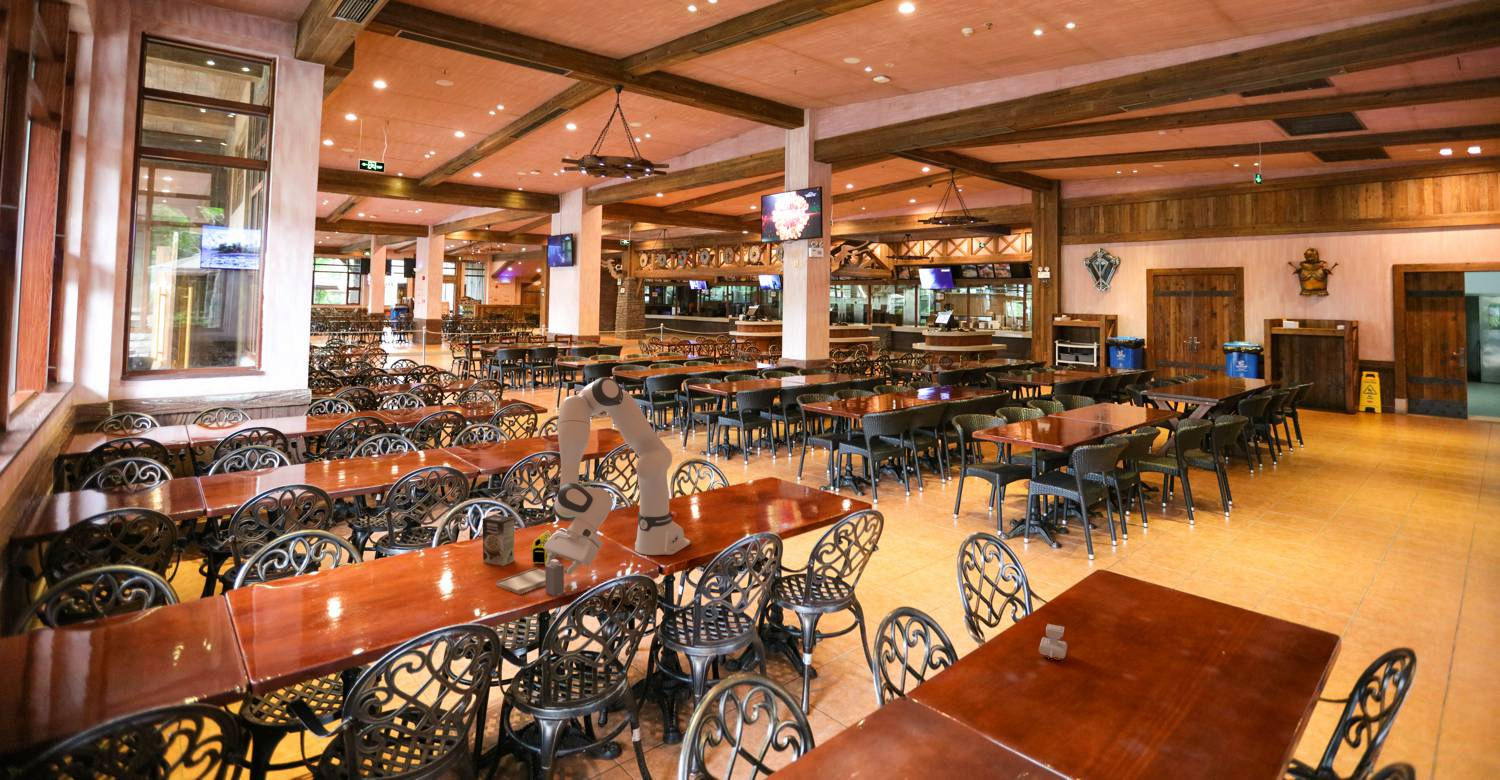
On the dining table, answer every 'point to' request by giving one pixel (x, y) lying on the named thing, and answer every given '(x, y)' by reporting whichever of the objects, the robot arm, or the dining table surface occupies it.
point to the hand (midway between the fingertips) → (556, 570)
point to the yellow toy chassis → (540, 548)
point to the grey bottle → (554, 577)
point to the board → (523, 581)
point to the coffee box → (498, 540)
